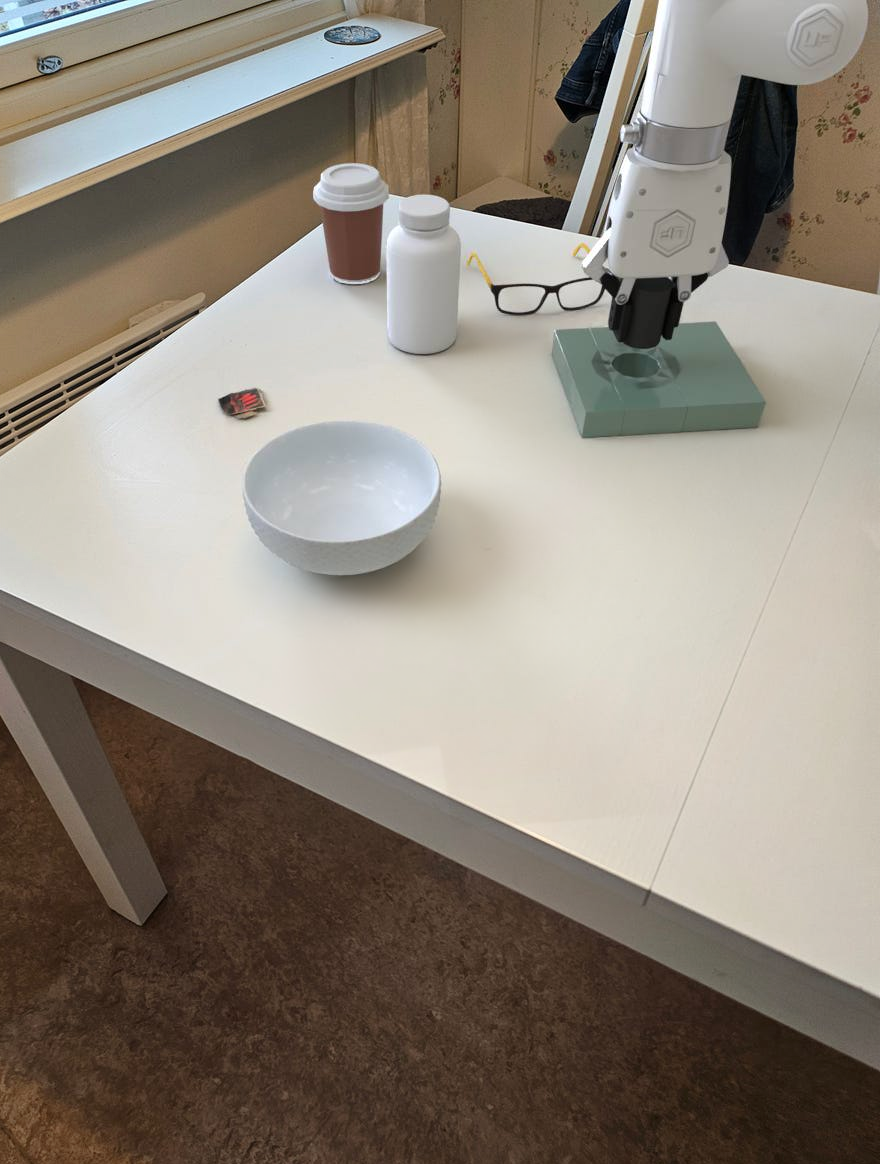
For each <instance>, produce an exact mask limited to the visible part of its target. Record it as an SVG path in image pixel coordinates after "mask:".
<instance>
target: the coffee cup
mask: <svg viewBox="0 0 880 1164" xmlns="http://www.w3.org/2000/svg"><path fill="white" fill-rule="evenodd" d="M389 187H390V186H389V184H388V183H386V182H385V181H384V179H382V178H381V173H380V171H378V169H376V167H374V166H371V165H368V164H365V163H357V162H353V163H352V162H347V163H341V164H335V165H333V166H330V167H328V168H326V169H325V170H323V171H322V173H321V174H320V181H318V183H317V184H316V185H314V187H313V192H312V195H313V200H314V202H315V203H316V204H317V205H318V206H319V209H320V216H321V221H322V228H323V235H324V240H325V247H326V253H327V258H328V259H327V260H328V266H329V273H330V272H331V274H332V275H333V277H335V278H338V279H340V280H342V281H347V282H362V281H367V280H371V279H372V278H375V277H376V276H377V275H378V274H379V272H380V273H381V265H382V264H381V263H382V241H383V223H384V222H383V221H384V220H383V219H384V204H385V203H386V201H388V200H389V198H390V189H389Z"/></svg>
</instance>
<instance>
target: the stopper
mask: <svg viewBox="0 0 880 1164" xmlns="http://www.w3.org/2000/svg"><path fill="white" fill-rule="evenodd" d="M672 285H673V283H672V281H671V277H658V278H636V280H635V283H634V285H633V288H632V291H631V293H630V298H629V301H630V303H631V305H632V311H631V316H630V321H629V326H628V332H627V337H626V341H624V342H623V343H624V344H625V345H627V346H629V347H632V348H637V349H649V348H653V347H655V346H657V345H658V344H659V343H660V339H661V335H662V330H663V326H664V321H665V317H666V312H667V308H668V303H669V298H670V294H671V289H672Z"/></svg>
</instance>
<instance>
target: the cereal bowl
mask: <svg viewBox="0 0 880 1164" xmlns="http://www.w3.org/2000/svg"><path fill="white" fill-rule="evenodd" d="M241 483H242V485H241V487H242V499H243V504H244V505H243V506H244V508H245V514H246V515H247V519H248V522H249V523H250V526H251V529H252V530H253V531H254V534H255V536H257V538H258V539H259V541H260V542H261V543H262V544H263V546H264V547H265V548H267V549H268V550H269V552H271V553H273V554H274V555H275V556H276V557H277V558H278V559H281V560H283V562H285V563H287V564H289V565H291V566H294V567H296V568H299V569H301V570H304V571H307V572H312V573H315V574H322V575H327V576H354V575H359V574H360V575H362V574H366V573H371V572H374V571H377V570H381V569H384V568H386V567H389V566H391V565H393V564H395V563H397V562H399V561H400V560H402V559H404V558H405V557H406V556H407V555H410V554H411V553H412V552H413V551H414V550H415V549H417V548H418V547H419V545H420V544H422V543H423V541H424V540H425V538H427V536H428V535H429V532H430V531H431V529H433V525H434V523H435V521H436V518H437V515H438V510H439V508H440V502H441V493H442V475H441V471H440V467H439V463H438V462H437V460H436V458H435V457H434V455H433V453H432V452H431V451H430V450H429V449H428V447H426V446H425V444H423V443H422V442H421V441H419V440H418V439H417V438H416V437H414V436H412V435H410V434H409V433H407V432H405V431H403V430H401V429H398V428H396V427H392V426H389V425H385V424H382V423H377V422H372V421H365V420H351V419H343V420H342V419H338V420H327V421H318V422H313V423H309V424H305V425H301V426H297V427H294V428H291V429H289V430H287V431H285V432H283V433H281V434H278V435H276V436H275V437H273V438H272V439H270V440H268V441H267V442H265V443H264V444H263V445H262V446H261V447H259V448H258V449H257V450H256V452H254V454H253V455H252V456H251V457H250V459H249V461H248V462H247V463H246V466H245V469H244V472H243V476H242V481H241Z"/></svg>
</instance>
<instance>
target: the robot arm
mask: <svg viewBox="0 0 880 1164" xmlns="http://www.w3.org/2000/svg"><path fill="white" fill-rule="evenodd" d="M868 22H869V8H868V3H867V0H658V3H657V9H656V15H655V21H654V27H653V33H652V39H651V45H650V51H649V56H648V63H647V67H646V75H645V81H644V86H643V87H644V88H643V93H642V99H641V104H640V110H638V111H637V114H636V118H635V120H634V121H633V122H630V124H629V123H628V124H622V125H621V127H620V133H619V139H620V142H621V143H629V144H630V145H631V144H632V145H633V147H631V148H630V147H629V148H628V149H627V150H626V153H625V155H624V158H623V160H622V163H621V166H620V168H619V171H618V174H617V178H616V181H615V184H614V186H613V187H614V188H613V190H612V194H611V198H610V202H609V206H608V210H607V215H606V218H605V219H606V220H605V224H604V229H603V230H604V231H603V235H602V237H600V239H599V240H598V241H597V243H596V244H595V245H594V247H593V248H592V249H591V252H590V253H589V254H588V253H587V254H588V255H586V257H585V258H584V259H583V261H582V262H581V268H582V271H583V273H584V274H585V276H588V277H590V278H592V279H593V280H592V281H595V282H596V283H598V284H600V285H601V287H602V286H603V287H604V288H605V291H606V292H607V293H608V294H609V295H610V296H611V301H610V302H611V303H610V307H609V314H608V320H607V327H609V329H610V331H613V333H614V335H615V337H616V339H617V341H618V342H624V341H626V337H627V332H628V326H629V321H630V316H631V311H632V305H631V303H630V301H629V298H630V293H631V291H632V288H633V285H634V283H635V280H636V278H658V277H668V278H670V279H671V281H672V283H673V285H672V289H671V294H670V298H669V303H668V308H667V312H666V317H665V321H664V326H663V330H662V337H663V339H665V340H671V339H672V336H673V331H674V327H678V325H679V323H680V321H681V316H682V312H683V308H684V303H685V302H687V301H689V300H690V299H691V296H692V293H693V292H695V291H696V290H697V289H699V287H700V286H702V285H703V284H704V283H706V281H707V280H708V279H709V278H710V277H713V276H715V275H716V274H718V273H720V272H722V271H723V270H724V269H727V267H728V266H729V264H730V261H729V258H728V255H727V253H726V250H725V248H724V246H723V243H722V242H723V235H724V231H725V225H726V219H727V213H728V206H729V196H730V188H731V175H732V156H731V155H730V154H729V153H727V152H726V151H725V146H726V142H727V137H728V133H729V130H730V125H731V121H732V116H733V112H734V108H735V105H736V100H737V96H738V91H739V87H740V82H741V80H742V79H741V78H742V76H746V77H752V78H756V79H761V80H765V81H769V82H774V83H777V84H778V83H779V84H784V85H792V86H806V85H813V84H817V83H820V82H823V81H825V80H827V79H829V78H831V77H833V76H835V75H836V74H837V73H839V72H840V71H842V70H843V69H844V68H845V67H846V66H847V65H848V64H849V63H850V62H851V61H852V60H853V58H854V57H855V56H856V54H857V53H858V51H859V50H860V47H861V46H862V44H863V41H864V40H865V39H864V38H865V36H866V33H867V29H868ZM606 261H607V265H608V268H607V267H605V266H604V263H605V262H606ZM602 265H603V266H604V267H603V266H602Z"/></svg>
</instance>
